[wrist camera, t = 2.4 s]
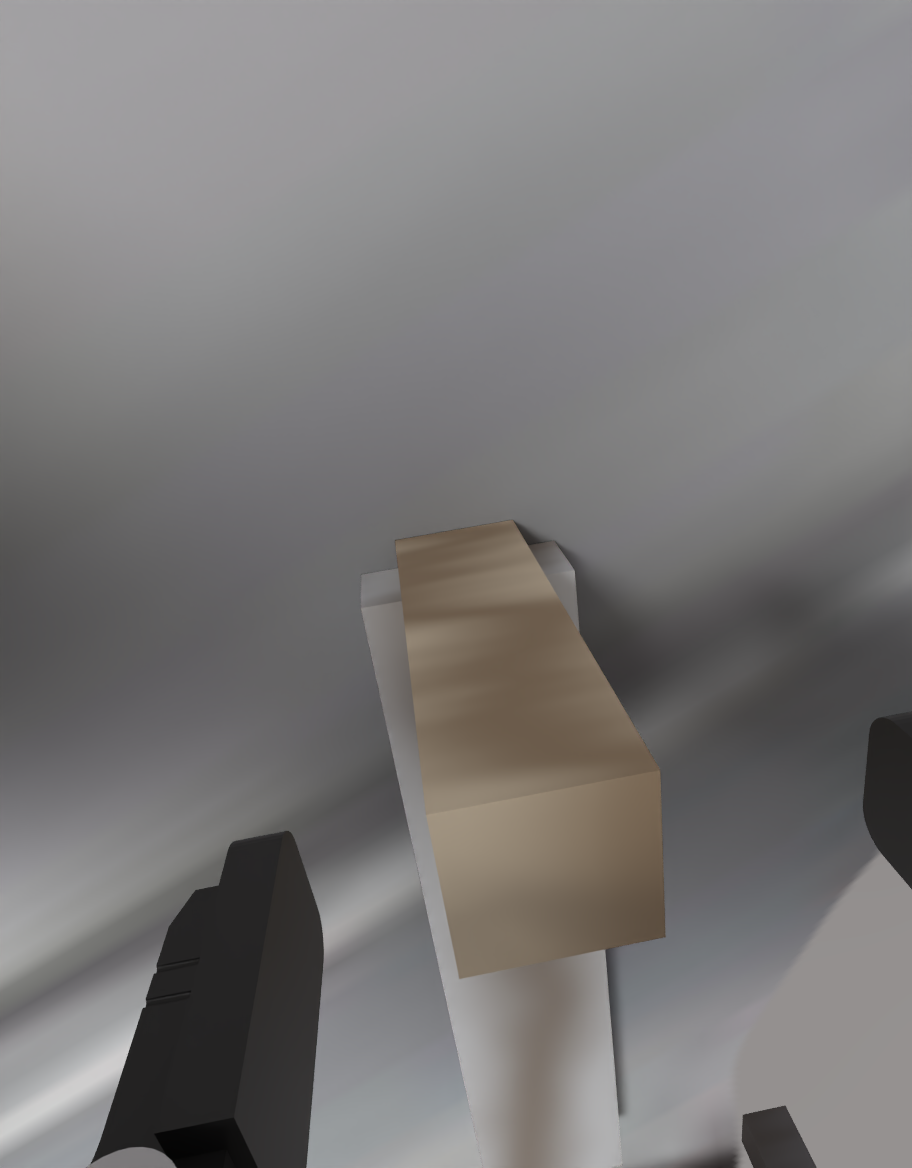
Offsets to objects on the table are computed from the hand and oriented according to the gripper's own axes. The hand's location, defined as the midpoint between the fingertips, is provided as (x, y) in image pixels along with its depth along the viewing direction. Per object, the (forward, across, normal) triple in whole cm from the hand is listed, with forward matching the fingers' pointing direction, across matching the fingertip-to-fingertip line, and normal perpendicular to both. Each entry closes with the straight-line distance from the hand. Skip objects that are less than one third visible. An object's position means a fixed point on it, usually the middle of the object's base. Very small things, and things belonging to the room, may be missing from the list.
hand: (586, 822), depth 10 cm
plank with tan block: (+10, +1, +12) cm, 15 cm away
